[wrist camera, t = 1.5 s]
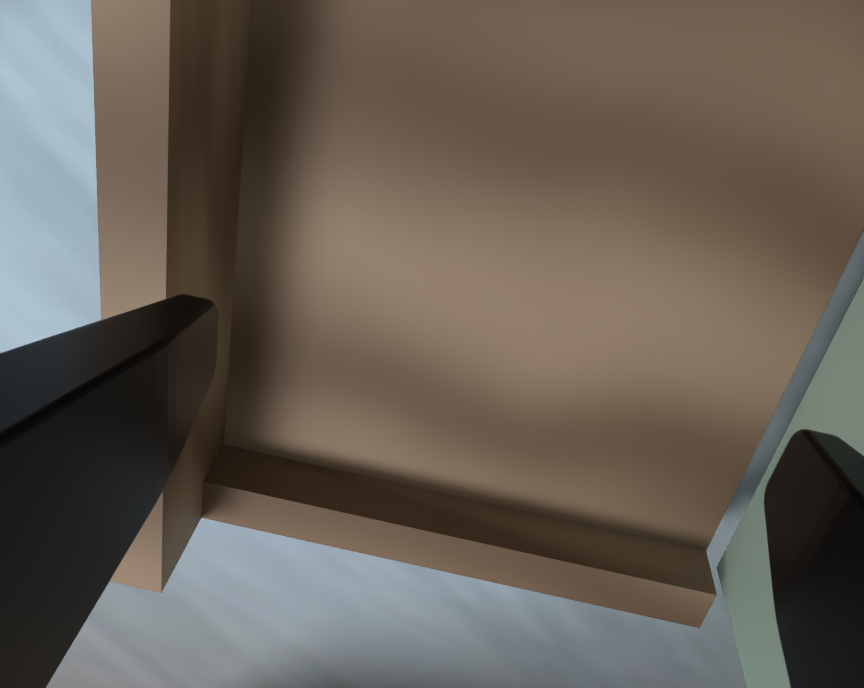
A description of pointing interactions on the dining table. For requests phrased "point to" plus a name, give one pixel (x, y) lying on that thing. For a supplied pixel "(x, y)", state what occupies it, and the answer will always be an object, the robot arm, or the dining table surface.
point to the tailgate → (748, 548)
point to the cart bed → (481, 267)
